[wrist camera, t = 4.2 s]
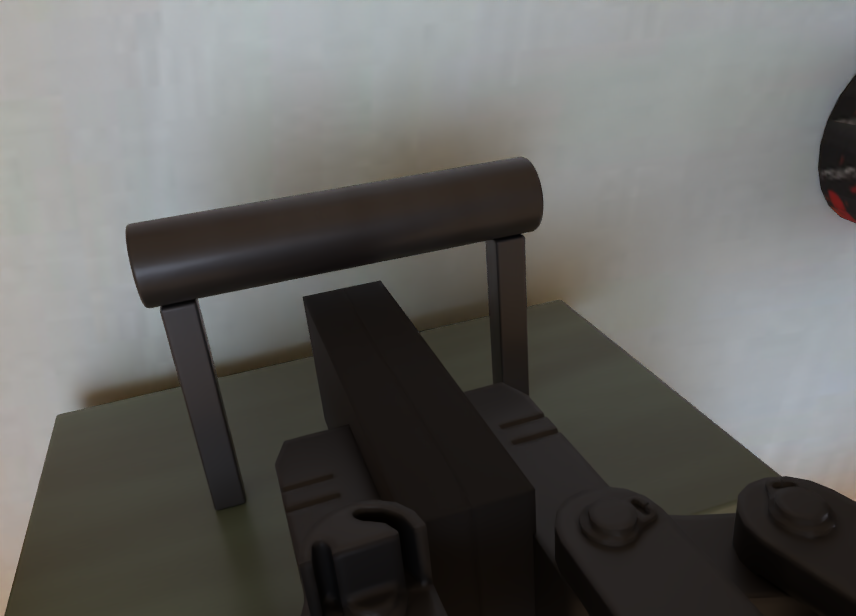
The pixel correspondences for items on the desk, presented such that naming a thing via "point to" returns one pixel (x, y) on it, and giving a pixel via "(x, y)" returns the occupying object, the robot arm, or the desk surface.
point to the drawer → (302, 408)
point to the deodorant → (840, 156)
